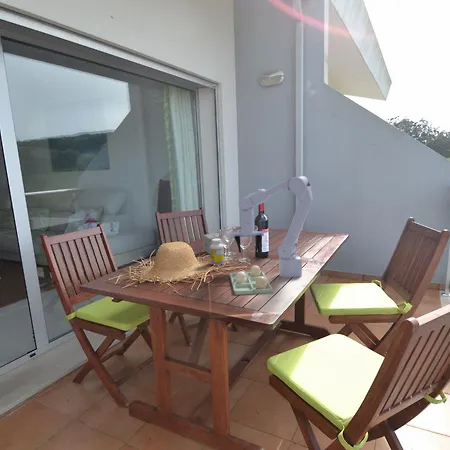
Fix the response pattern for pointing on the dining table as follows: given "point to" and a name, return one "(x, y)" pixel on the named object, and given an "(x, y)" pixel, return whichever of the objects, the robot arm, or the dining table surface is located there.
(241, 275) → the cream egg
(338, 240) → the dining table surface
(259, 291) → the egg tray
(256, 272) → the tan egg
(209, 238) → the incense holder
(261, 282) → the tan egg
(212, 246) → the supplement bottle
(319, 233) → the dining table surface
